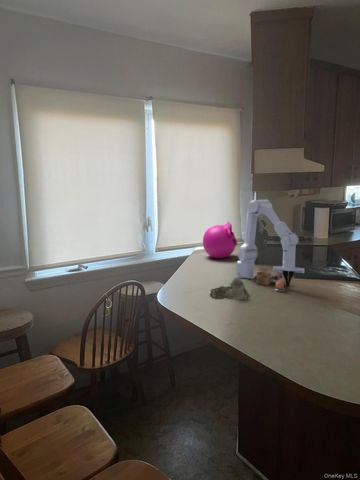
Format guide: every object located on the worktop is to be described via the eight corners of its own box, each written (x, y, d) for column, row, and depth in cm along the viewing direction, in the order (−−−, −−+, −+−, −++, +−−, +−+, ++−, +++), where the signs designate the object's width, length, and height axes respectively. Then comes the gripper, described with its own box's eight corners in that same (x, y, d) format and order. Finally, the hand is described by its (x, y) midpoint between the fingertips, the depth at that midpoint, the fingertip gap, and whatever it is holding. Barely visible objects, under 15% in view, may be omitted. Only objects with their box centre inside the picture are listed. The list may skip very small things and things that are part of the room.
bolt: (259, 282, 180) (259, 271, 180) (260, 280, 184) (260, 269, 183) (282, 284, 176) (282, 273, 176) (282, 282, 180) (283, 271, 179)
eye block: (256, 283, 179) (257, 271, 178) (258, 279, 186) (259, 268, 185) (268, 284, 177) (269, 272, 176) (270, 280, 184) (270, 269, 183)
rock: (249, 291, 165) (248, 274, 160) (250, 306, 156) (249, 289, 151) (211, 292, 168) (209, 275, 163) (210, 307, 159) (208, 290, 154)
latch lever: (275, 289, 166) (275, 283, 166) (277, 283, 176) (277, 277, 175) (283, 289, 165) (283, 283, 164) (284, 284, 175) (285, 278, 174)
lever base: (273, 291, 166) (273, 289, 166) (274, 288, 171) (274, 286, 171) (284, 292, 164) (284, 290, 164) (285, 289, 169) (285, 287, 169)
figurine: (239, 261, 233) (240, 224, 229) (203, 261, 233) (203, 224, 229) (234, 254, 256) (235, 220, 252) (202, 254, 256) (202, 220, 252)
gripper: (272, 259, 166) (271, 287, 168) (304, 261, 161) (303, 289, 163) (274, 256, 173) (273, 283, 175) (304, 258, 168) (303, 285, 170)
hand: (287, 286), depth 170 cm, fingers closed
